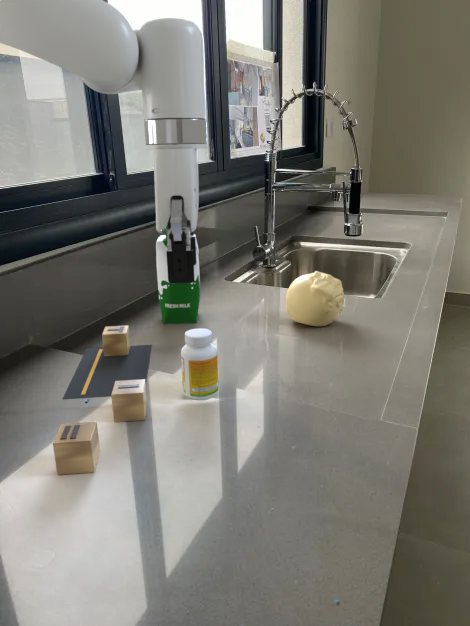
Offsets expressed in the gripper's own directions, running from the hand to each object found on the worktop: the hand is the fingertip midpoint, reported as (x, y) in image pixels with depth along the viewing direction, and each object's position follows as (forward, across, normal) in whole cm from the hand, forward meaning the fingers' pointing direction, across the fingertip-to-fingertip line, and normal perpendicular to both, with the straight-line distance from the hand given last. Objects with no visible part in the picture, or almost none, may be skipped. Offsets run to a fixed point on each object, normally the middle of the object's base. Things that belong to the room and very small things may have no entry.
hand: (183, 273), depth 66 cm
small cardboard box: (+19, -20, -14) cm, 31 cm away
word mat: (+20, -13, -14) cm, 27 cm away
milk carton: (+20, -38, -3) cm, 43 cm away
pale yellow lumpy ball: (+20, -34, +25) cm, 46 cm away
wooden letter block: (+20, +2, -8) cm, 21 cm away
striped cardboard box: (+20, +13, -13) cm, 27 cm away
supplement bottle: (+20, -3, +2) cm, 20 cm away
